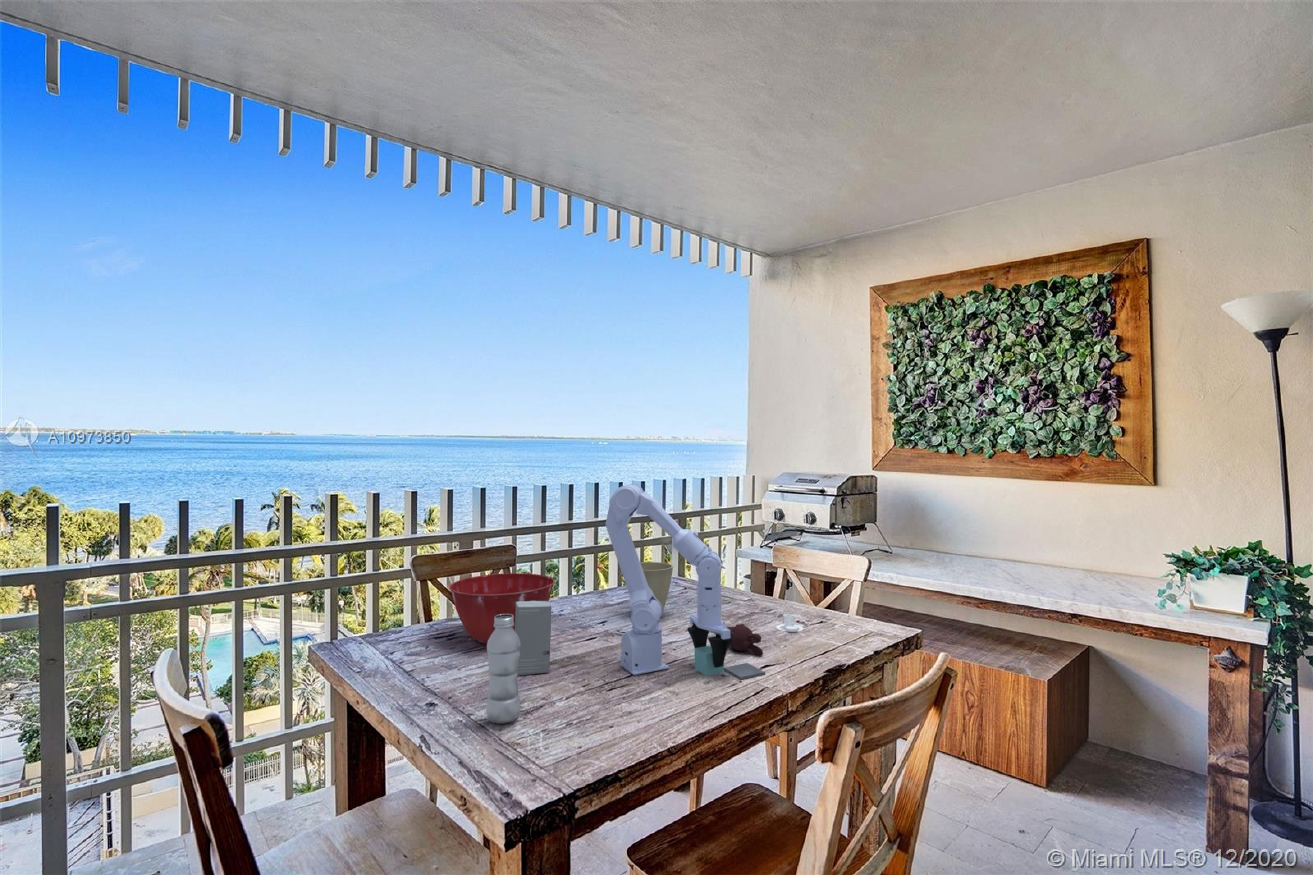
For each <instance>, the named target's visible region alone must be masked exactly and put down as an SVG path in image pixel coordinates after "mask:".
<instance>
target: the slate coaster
mask: <svg viewBox="0 0 1313 875" xmlns="http://www.w3.org/2000/svg"><path fill="white" fill-rule="evenodd" d="M724 672H725V673H727V674H729V675H731V676H733V677H735V678H736V679H738V680H740V681H742V680H747V679H751V678H756V677H761V676H765V675H766V671H765V670H762V669H761V668H759V667H756V666H754V665H752V664H750V663H748V662H744V663H738V664H735V665H729V666H724Z"/></svg>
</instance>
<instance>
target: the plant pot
mask: <svg viewBox="0 0 1313 875" xmlns="http://www.w3.org/2000/svg"><path fill="white" fill-rule="evenodd" d="M640 563H641V566H642V569H643V572H644V575H645V578H646V581H647V583H648V586H649V587H650V589H651V590H652V591H653V594H654V596H655V598H656V599H657V600H658V601H659V602H660V604H661V606H662V613H663V612H664V609H665V606H666V603H667V600H668V596H669V591H670V587H671V583H672V576H673V568H674V565H672V564H671V563H666V562H660V561H659V562H658V561H643V562H641V561H640Z"/></svg>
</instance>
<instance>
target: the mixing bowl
mask: <svg viewBox="0 0 1313 875" xmlns="http://www.w3.org/2000/svg"><path fill="white" fill-rule="evenodd" d="M555 582H556V580H555V579H554V578H553V577H551V576H548V575H543V574H538V573H537V574H536V573H522V572H521V573H517V572H515V573H514V572H513V573H512V572H511V573H506V572H505V573H493V574H492V573H491V574H484V575H477V576H470V577H467V578H462V579H459V580H456V581H454V582H452V583H451V584H450V585H449V588H448V589H449V590H450V593H451V597H452V600H453V601H452V602H453V603H454V604H453V605H454V608H455V609H456V614H457V616H458V617H459V620H460V622H461V625H462V626H463V628H464V629H465V631H466V633H467V634H468V635H469V636H470V637H471V638H472V639H473V640H475V641H478V642H479V643H480V644H483V645H487V643H488V640H489V638H490V636H491V635H492V633H493V632H494V630H495V627H494V618H495V616H496V615H500V614H512V615H513V622H514V626H513V627H512V628H513V629H514V631H515V617H516V602H519V601H549V602H550V598H551V595H552V591H553V588H554V587H553V586H554V585H555Z"/></svg>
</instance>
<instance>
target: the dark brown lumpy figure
mask: <svg viewBox="0 0 1313 875" xmlns="http://www.w3.org/2000/svg"><path fill="white" fill-rule="evenodd" d="M726 628H728V629H729V630H730V636H731V637H733V640H732V642H731V643H730V645H729V648H731V650H732V651H736V650H737V651H740V652H746V651H748V650H750V651H751V652H752V653H753V654H754V655H756V656H759V657H760V656H763V654H764V652H763V649H762V648H761V647H760V646H758V645H755V644H759V643H761V642H762V636H761V635H760V634H758V633H753V631H752V629H751V628H749V627H748V626H746V625H745V624H744V623H740V624H739V623H738V624H736V625H735V626H726Z"/></svg>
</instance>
